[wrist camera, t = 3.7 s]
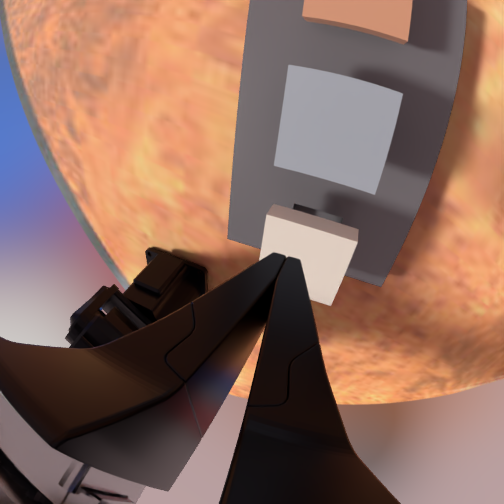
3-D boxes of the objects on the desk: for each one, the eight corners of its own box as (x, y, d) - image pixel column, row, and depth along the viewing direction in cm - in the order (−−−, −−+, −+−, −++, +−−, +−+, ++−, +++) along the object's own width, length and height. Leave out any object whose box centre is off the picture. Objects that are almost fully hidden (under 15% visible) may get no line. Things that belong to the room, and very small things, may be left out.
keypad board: (380, 273, 18) (381, 286, 17) (235, 228, 20) (227, 238, 19) (458, 4, 6) (467, -2, 5) (265, -40, 9) (256, -48, 7)
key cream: (335, 279, 17) (330, 306, 15) (267, 258, 18) (255, 281, 16) (359, 219, 14) (357, 242, 12) (279, 195, 15) (266, 214, 13)
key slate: (372, 176, 12) (374, 194, 11) (286, 152, 13) (273, 165, 12) (395, 91, 10) (402, 93, 8) (299, 67, 11) (288, 64, 9)
